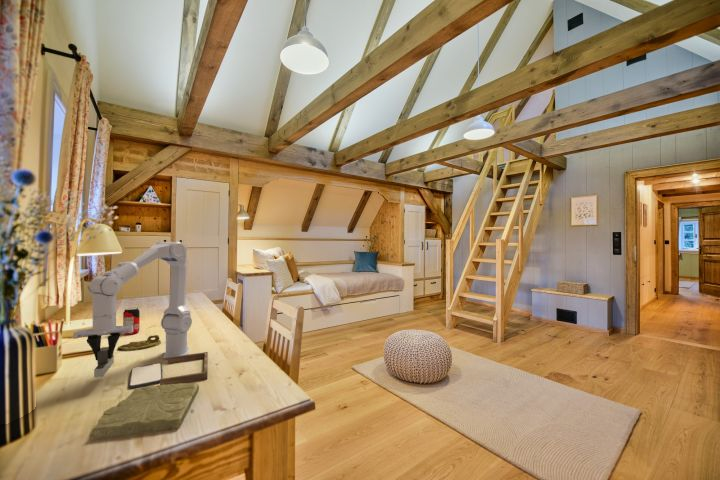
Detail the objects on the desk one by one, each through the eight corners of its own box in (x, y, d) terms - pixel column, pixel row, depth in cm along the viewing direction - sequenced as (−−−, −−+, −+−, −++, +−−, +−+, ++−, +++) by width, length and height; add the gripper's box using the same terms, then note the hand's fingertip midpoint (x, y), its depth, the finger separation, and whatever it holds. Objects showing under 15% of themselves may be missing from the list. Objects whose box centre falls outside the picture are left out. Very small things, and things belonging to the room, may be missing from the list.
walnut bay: (167, 362, 115) (167, 357, 115) (207, 357, 121) (207, 351, 121) (159, 386, 96) (159, 380, 96) (207, 378, 102) (207, 372, 102)
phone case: (163, 384, 99) (161, 366, 112) (163, 379, 99) (161, 362, 112) (127, 392, 94) (131, 372, 108) (128, 386, 94) (131, 367, 108)
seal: (116, 356, 125) (161, 349, 133) (116, 345, 124) (161, 338, 133) (118, 347, 132) (160, 340, 141) (117, 336, 132) (160, 330, 140)
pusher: (105, 363, 104) (105, 344, 104) (114, 362, 105) (114, 342, 105) (93, 378, 93) (93, 355, 93) (103, 376, 94) (103, 354, 94)
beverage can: (142, 332, 153) (142, 307, 154) (130, 335, 147) (130, 310, 147) (132, 331, 155) (132, 306, 155) (119, 334, 149) (119, 309, 149)
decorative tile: (199, 391, 94) (199, 379, 94) (180, 430, 75) (180, 415, 75) (127, 399, 89) (127, 387, 89) (86, 443, 70) (86, 427, 70)
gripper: (69, 320, 92) (69, 366, 92) (129, 315, 98) (129, 358, 98) (78, 314, 98) (78, 358, 98) (134, 310, 105) (134, 351, 105)
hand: (104, 358), depth 99 cm, fingers closed on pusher, 2 cm apart
